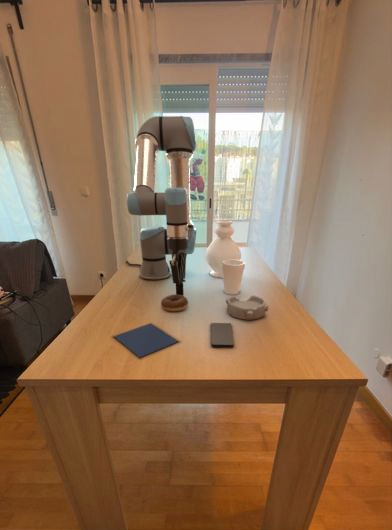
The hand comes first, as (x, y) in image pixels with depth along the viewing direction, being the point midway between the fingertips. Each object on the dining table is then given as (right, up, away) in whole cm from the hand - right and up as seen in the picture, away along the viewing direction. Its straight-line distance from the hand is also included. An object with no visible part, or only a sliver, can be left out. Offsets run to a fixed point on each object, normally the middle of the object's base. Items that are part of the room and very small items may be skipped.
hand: (179, 298), depth 115 cm
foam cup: (+22, +4, +10) cm, 25 cm away
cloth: (-9, -18, -25) cm, 32 cm away
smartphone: (+15, -16, -23) cm, 32 cm away
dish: (+25, -7, -9) cm, 28 cm away
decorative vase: (+20, +18, +32) cm, 42 cm away
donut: (-2, -4, -4) cm, 6 cm away
